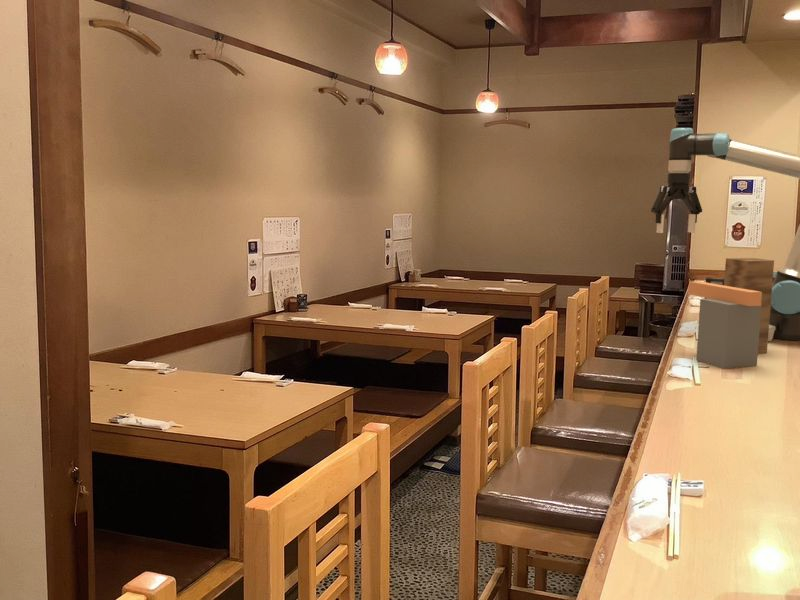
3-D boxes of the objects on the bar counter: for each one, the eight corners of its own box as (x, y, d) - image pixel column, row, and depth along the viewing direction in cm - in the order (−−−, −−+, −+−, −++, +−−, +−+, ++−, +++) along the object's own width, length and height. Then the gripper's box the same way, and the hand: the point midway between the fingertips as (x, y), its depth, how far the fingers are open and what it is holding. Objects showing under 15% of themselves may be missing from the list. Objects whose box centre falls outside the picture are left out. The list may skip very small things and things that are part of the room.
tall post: (766, 353, 249) (774, 260, 244) (741, 355, 245) (748, 261, 241) (743, 347, 258) (750, 257, 254) (719, 348, 255) (725, 258, 250)
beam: (760, 305, 222) (762, 291, 222) (749, 306, 221) (750, 292, 221) (699, 293, 247) (700, 281, 246) (688, 294, 245) (689, 281, 245)
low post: (756, 366, 230) (761, 303, 227) (724, 368, 226) (728, 304, 223) (727, 357, 241) (732, 297, 239) (696, 360, 237) (700, 299, 235)
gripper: (700, 173, 281) (697, 231, 284) (642, 172, 273) (639, 232, 276) (715, 173, 274) (711, 232, 277) (656, 171, 266) (652, 233, 269)
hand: (675, 232), depth 277 cm, fingers open, 13 cm apart
